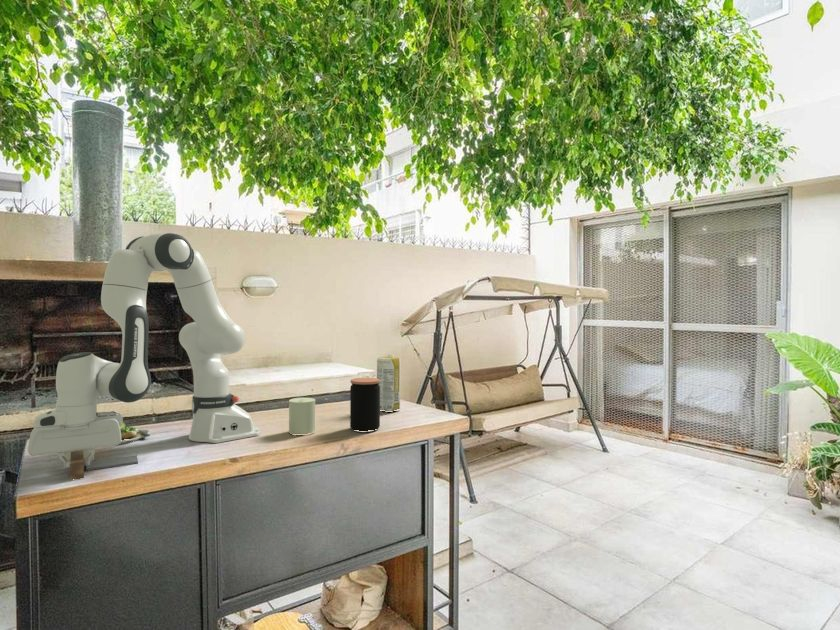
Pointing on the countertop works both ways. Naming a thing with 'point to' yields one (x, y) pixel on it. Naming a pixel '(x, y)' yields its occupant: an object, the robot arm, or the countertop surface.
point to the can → (301, 415)
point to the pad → (112, 462)
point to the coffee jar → (365, 404)
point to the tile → (85, 452)
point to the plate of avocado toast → (132, 433)
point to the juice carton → (389, 382)
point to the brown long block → (77, 465)
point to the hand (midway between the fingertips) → (77, 466)
